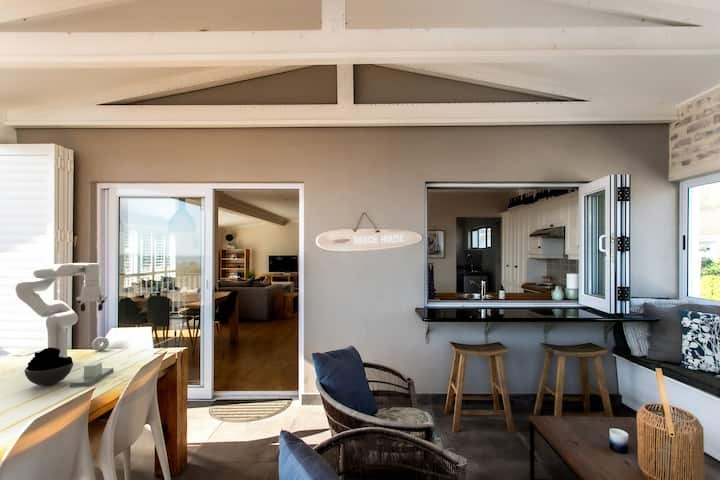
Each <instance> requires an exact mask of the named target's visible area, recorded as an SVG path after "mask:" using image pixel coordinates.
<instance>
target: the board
mask: <svg viewBox="0 0 720 480" xmlns="http://www.w3.org/2000/svg"><path fill="white" fill-rule="evenodd" d="M113 372H114V367H108V368H107V367H106V368H105V367H104V368H103V367H102V373H101V374H99V375H98V376H96V377H84V374H83V375H81V376H79V377H78V378H76V379H75V380H73V381H71V382H70V383H69V388H76V387H77V388H79V387H91V386H93V385H94V384H96V383H97V382H99V381H101V380H102V379H103V378H105V377H107V376H108V375H110V374H112V373H113Z"/></svg>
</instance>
